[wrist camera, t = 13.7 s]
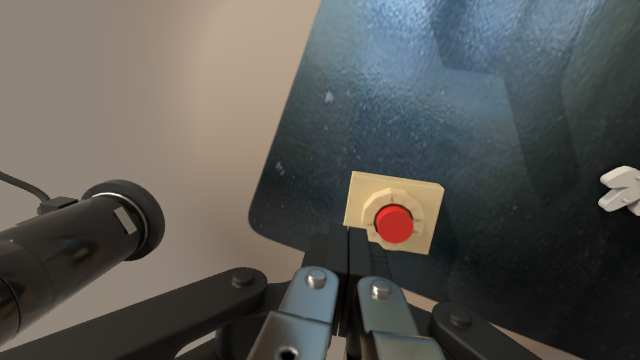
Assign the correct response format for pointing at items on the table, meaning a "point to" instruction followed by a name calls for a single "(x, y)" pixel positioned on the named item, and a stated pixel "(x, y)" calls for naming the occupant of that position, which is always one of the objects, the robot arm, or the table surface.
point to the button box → (385, 191)
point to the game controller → (622, 189)
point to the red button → (394, 224)
